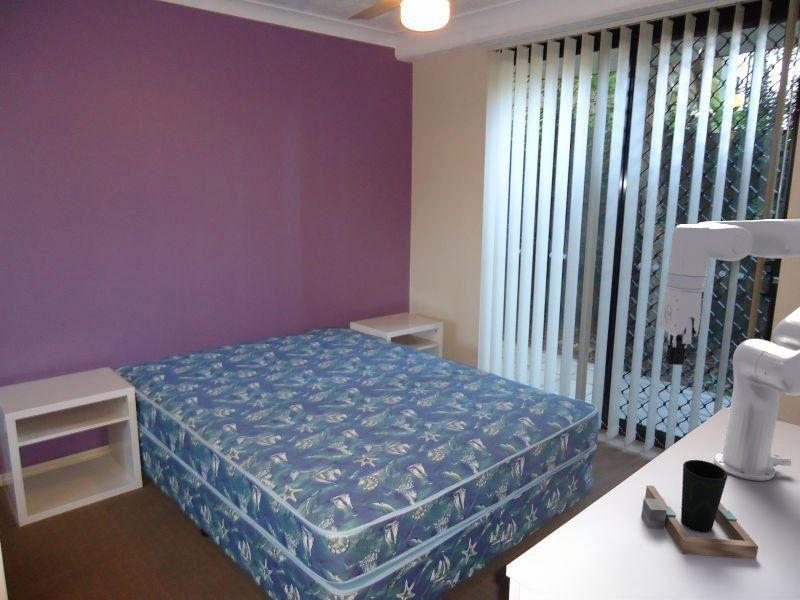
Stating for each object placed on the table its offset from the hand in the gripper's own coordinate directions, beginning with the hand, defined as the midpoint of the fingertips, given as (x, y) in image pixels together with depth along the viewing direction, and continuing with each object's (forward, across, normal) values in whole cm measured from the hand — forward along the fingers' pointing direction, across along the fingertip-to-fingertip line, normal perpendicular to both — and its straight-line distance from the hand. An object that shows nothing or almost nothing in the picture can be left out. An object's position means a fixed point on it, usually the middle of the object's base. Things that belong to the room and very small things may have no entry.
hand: (674, 363), depth 127 cm
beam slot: (+27, +20, -2) cm, 34 cm away
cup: (+27, +20, 0) cm, 34 cm away
